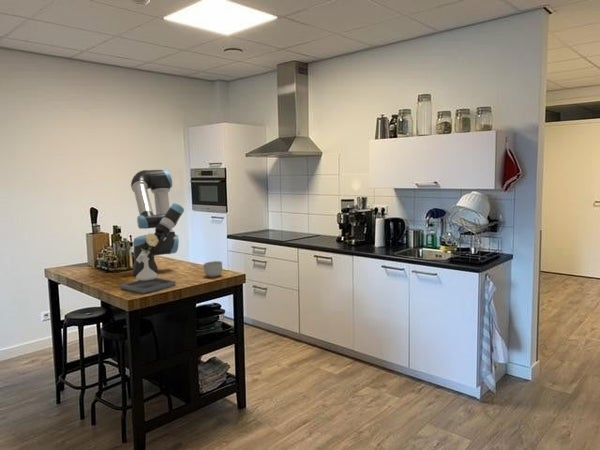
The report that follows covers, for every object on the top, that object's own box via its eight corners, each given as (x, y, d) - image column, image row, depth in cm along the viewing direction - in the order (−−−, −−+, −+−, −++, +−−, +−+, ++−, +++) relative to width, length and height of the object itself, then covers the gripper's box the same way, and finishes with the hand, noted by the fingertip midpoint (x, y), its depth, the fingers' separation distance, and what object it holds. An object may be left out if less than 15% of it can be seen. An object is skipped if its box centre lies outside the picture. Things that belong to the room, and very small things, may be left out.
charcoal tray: (121, 289, 247) (120, 284, 247) (152, 281, 263) (152, 277, 263) (144, 294, 235) (143, 289, 235) (175, 285, 251) (175, 281, 251)
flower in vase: (139, 283, 239) (136, 235, 236) (133, 279, 249) (129, 233, 246) (164, 279, 247) (161, 233, 244) (157, 275, 256) (154, 231, 253)
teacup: (218, 278, 267) (218, 264, 266) (201, 277, 269) (200, 264, 268) (227, 272, 280) (226, 260, 279) (210, 272, 282) (209, 259, 281)
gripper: (179, 232, 252) (155, 267, 241) (158, 230, 263) (135, 264, 251) (170, 224, 248) (146, 259, 236) (150, 222, 258) (126, 256, 246)
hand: (140, 262), depth 244 cm, fingers closed on flower in vase, 4 cm apart
